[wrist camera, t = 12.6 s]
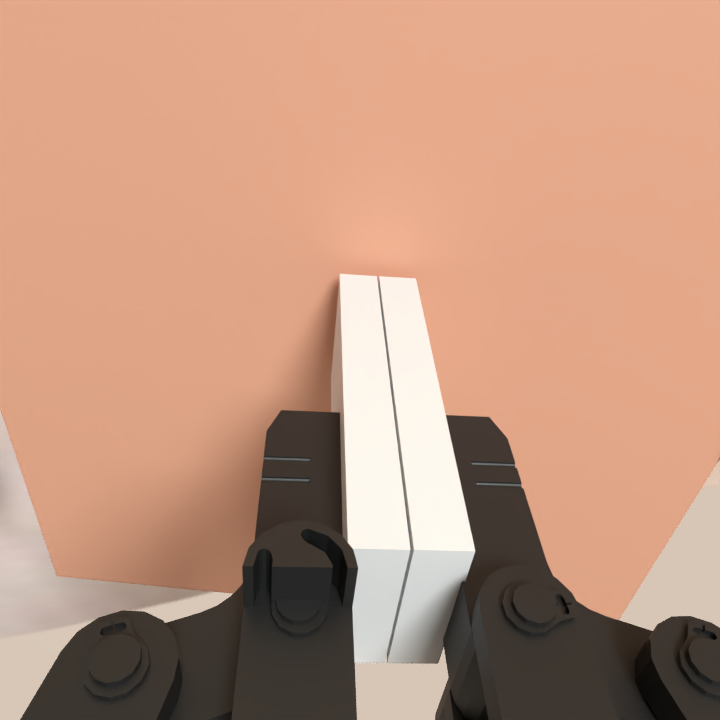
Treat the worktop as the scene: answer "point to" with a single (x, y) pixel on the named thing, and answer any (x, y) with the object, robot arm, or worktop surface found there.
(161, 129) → the lid
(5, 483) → the worktop surface
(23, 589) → the worktop surface
